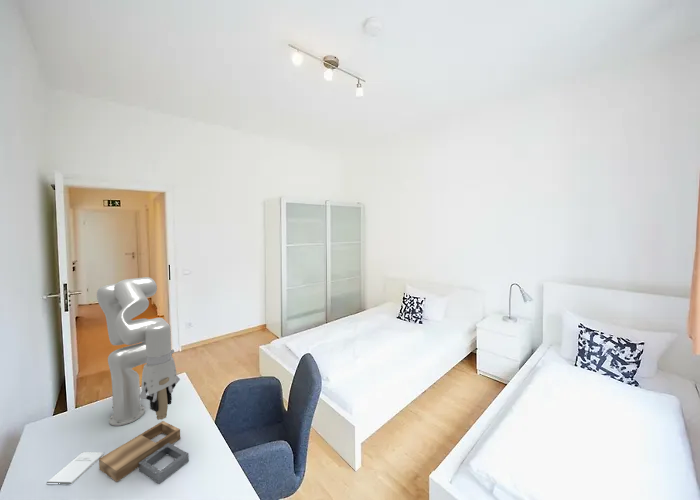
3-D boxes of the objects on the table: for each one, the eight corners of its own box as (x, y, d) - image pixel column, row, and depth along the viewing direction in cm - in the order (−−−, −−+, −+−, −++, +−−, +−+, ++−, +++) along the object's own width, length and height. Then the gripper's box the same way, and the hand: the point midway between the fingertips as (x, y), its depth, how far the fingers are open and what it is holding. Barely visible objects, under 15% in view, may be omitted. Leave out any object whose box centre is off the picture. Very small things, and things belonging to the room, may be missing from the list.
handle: (160, 424, 100) (158, 383, 99) (149, 418, 103) (147, 378, 102) (173, 416, 105) (172, 376, 104) (163, 411, 108) (161, 372, 107)
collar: (138, 470, 100) (138, 462, 99) (168, 450, 109) (168, 442, 109) (159, 484, 95) (158, 475, 95) (188, 461, 104) (188, 453, 104)
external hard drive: (46, 486, 94) (81, 455, 106) (71, 486, 94) (104, 456, 106) (46, 481, 94) (81, 451, 106) (71, 482, 94) (103, 452, 106)
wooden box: (99, 469, 100) (98, 458, 100) (163, 429, 120) (163, 420, 119) (116, 482, 95) (116, 470, 95) (180, 438, 115) (180, 429, 115)
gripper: (175, 347, 112) (176, 392, 113) (127, 365, 97) (129, 417, 98) (187, 350, 109) (189, 397, 110) (140, 370, 93) (142, 423, 95)
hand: (161, 406), depth 104 cm, fingers closed on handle, 3 cm apart
